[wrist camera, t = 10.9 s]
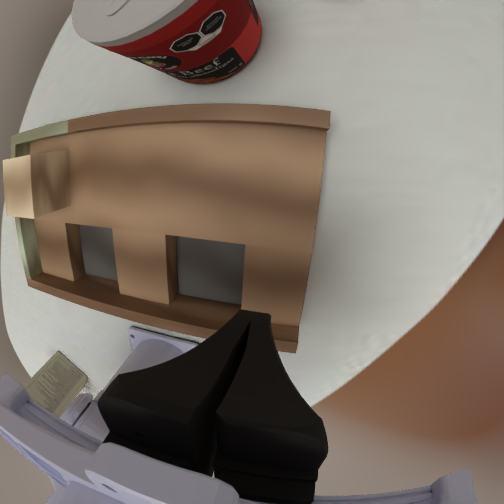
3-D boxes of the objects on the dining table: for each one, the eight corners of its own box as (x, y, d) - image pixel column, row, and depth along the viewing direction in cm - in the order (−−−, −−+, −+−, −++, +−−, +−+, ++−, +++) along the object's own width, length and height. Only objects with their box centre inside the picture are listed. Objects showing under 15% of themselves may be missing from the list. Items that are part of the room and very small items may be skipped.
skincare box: (56, 362, 34) (12, 407, 23) (58, 349, 32) (9, 398, 21) (85, 388, 34) (44, 438, 23) (89, 377, 33) (44, 432, 21)
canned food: (153, 80, 18) (50, 50, 8) (184, -1, 15) (110, -66, 5) (245, 95, 18) (182, 42, 7) (275, 6, 14) (247, -87, 4)
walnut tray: (297, 322, 23) (295, 353, 19) (51, 271, 27) (28, 285, 23) (325, 119, 17) (330, 111, 13) (38, 133, 21) (11, 136, 17)
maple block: (70, 205, 21) (34, 218, 17) (40, 204, 21) (6, 215, 17) (68, 149, 19) (30, 154, 15) (37, 154, 20) (2, 160, 16)
